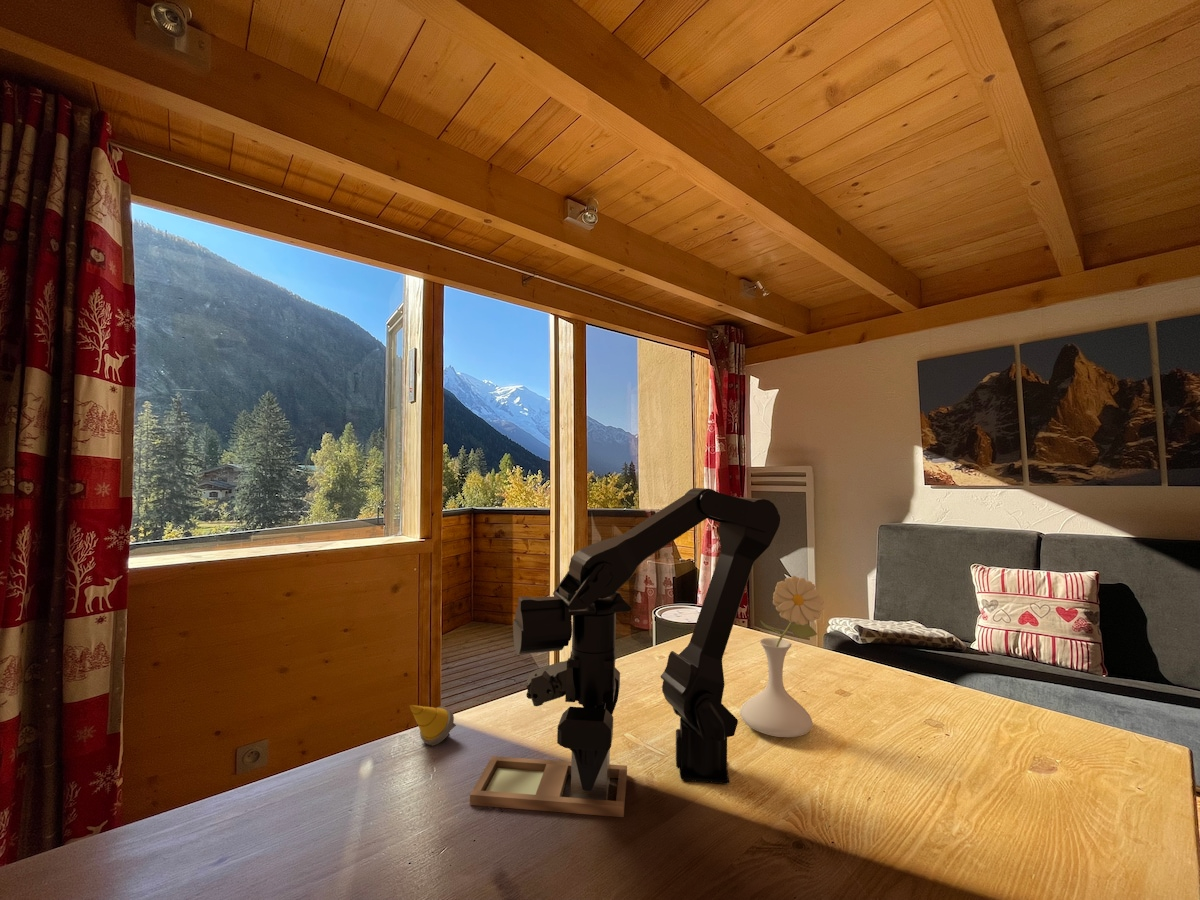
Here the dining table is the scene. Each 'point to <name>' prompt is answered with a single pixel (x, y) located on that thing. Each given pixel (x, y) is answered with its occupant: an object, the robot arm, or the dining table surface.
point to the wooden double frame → (541, 787)
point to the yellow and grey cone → (433, 723)
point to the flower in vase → (774, 704)
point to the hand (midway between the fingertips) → (591, 768)
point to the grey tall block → (599, 786)
